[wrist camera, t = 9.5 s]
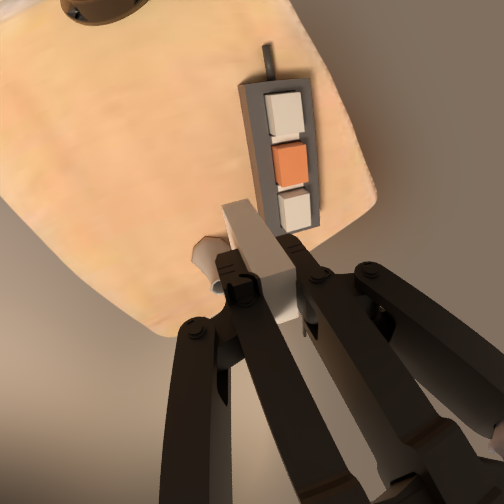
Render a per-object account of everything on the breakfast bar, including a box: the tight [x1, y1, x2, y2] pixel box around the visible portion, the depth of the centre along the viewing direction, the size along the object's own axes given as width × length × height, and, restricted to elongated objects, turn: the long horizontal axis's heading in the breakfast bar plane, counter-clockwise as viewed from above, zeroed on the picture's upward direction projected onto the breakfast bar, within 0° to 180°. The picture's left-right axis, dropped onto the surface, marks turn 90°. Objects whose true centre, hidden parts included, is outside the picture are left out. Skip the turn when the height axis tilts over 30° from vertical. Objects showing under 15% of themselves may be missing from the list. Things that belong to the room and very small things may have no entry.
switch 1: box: [263, 92, 305, 136], centre depth 37 cm, size 6×4×4 cm
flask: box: [192, 237, 231, 295], centre depth 47 cm, size 7×7×10 cm
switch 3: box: [277, 187, 311, 232], centre depth 46 cm, size 6×4×4 cm
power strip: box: [238, 45, 320, 237], centre depth 41 cm, size 32×10×4 cm, turn 9°
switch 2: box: [271, 140, 309, 188], centre depth 41 cm, size 6×4×4 cm
